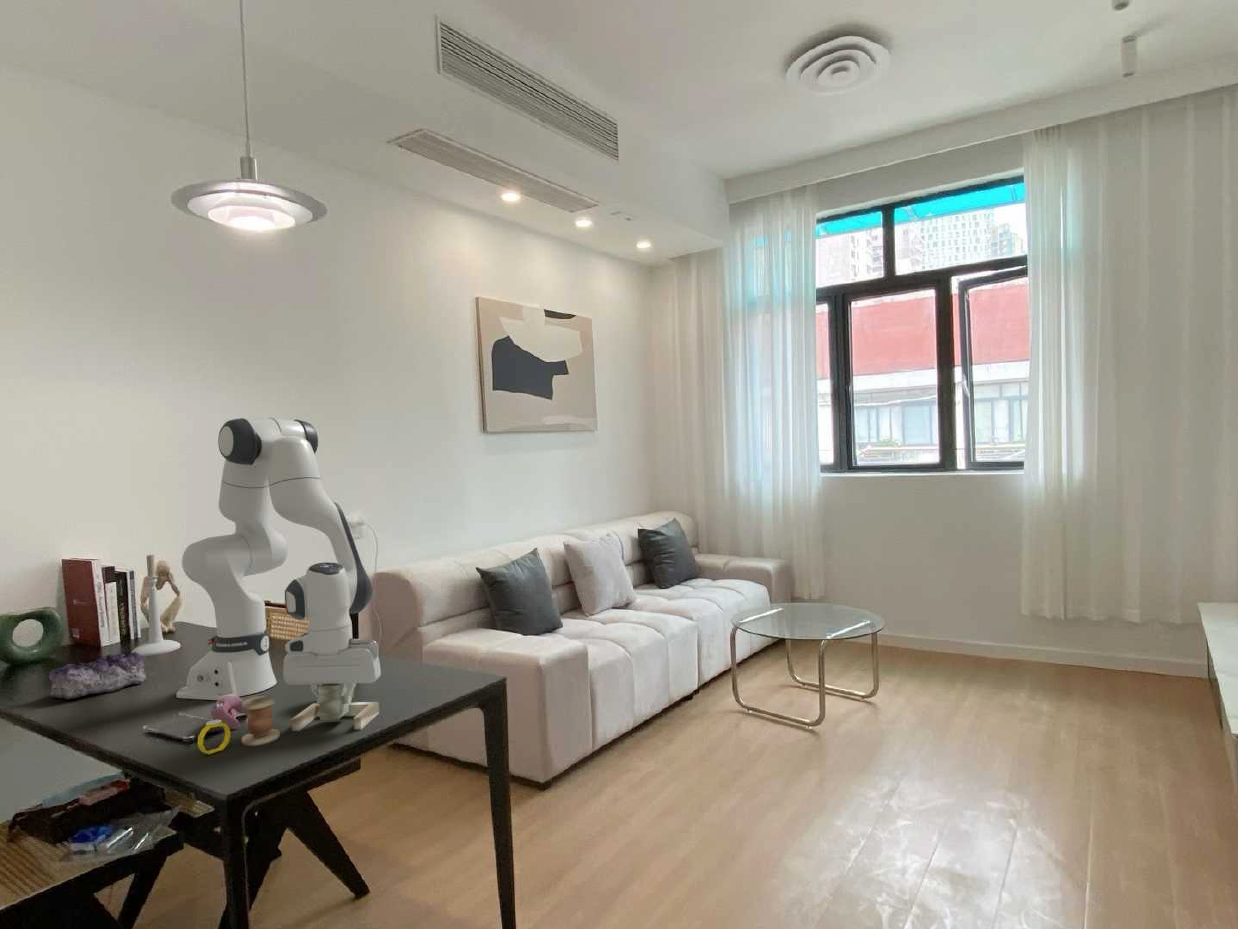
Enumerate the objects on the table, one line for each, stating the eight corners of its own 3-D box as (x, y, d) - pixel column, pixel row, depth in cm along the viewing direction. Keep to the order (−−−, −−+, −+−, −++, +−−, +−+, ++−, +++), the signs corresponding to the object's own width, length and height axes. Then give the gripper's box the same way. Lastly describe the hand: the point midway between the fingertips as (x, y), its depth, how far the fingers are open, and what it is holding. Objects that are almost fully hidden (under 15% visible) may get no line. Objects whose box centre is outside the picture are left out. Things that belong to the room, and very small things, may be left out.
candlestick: (190, 644, 235) (184, 550, 234) (156, 656, 222) (149, 556, 221) (156, 644, 237) (150, 550, 237) (121, 655, 225) (114, 557, 224)
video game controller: (239, 721, 168) (222, 695, 167) (257, 711, 168) (241, 685, 168) (220, 738, 158) (202, 711, 157) (239, 727, 158) (222, 700, 158)
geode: (139, 676, 203) (139, 641, 202) (151, 690, 195) (152, 653, 194) (46, 694, 188) (46, 655, 187) (55, 710, 180) (55, 670, 179)
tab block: (320, 720, 157) (318, 687, 157) (331, 711, 162) (329, 679, 162) (338, 719, 157) (336, 686, 157) (348, 711, 162) (347, 679, 162)
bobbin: (234, 746, 149) (232, 707, 149) (254, 732, 156) (251, 695, 156) (268, 745, 149) (265, 706, 149) (286, 732, 156) (283, 694, 156)
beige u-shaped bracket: (292, 731, 156) (291, 719, 156) (313, 714, 166) (313, 703, 166) (361, 729, 155) (360, 718, 155) (379, 713, 165) (378, 702, 164)
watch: (204, 759, 144) (202, 728, 143) (195, 756, 145) (193, 726, 145) (233, 747, 149) (231, 717, 149) (225, 745, 150) (223, 715, 150)
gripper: (383, 634, 162) (387, 697, 162) (292, 637, 163) (296, 699, 163) (371, 642, 155) (375, 707, 156) (277, 644, 157) (281, 709, 157)
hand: (334, 703), depth 160 cm, fingers closed on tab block, 4 cm apart
